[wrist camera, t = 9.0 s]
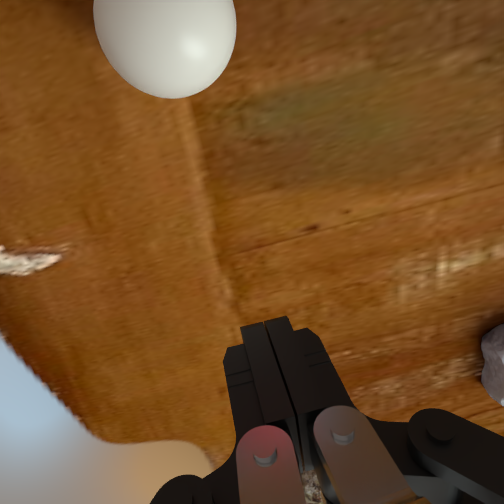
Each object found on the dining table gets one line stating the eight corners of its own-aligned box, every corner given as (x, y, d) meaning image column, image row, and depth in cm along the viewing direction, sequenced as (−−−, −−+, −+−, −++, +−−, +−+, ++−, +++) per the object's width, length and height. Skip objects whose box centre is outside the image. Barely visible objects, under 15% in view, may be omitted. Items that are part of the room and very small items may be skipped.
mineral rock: (273, 490, 38) (361, 492, 37) (274, 446, 42) (354, 446, 41) (282, 543, 44) (358, 545, 43) (283, 500, 47) (353, 501, 46)
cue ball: (88, 75, 15) (139, 132, 21) (250, 28, 14) (253, 100, 20) (48, -80, 15) (110, 21, 21) (205, -126, 15) (222, -11, 21)
